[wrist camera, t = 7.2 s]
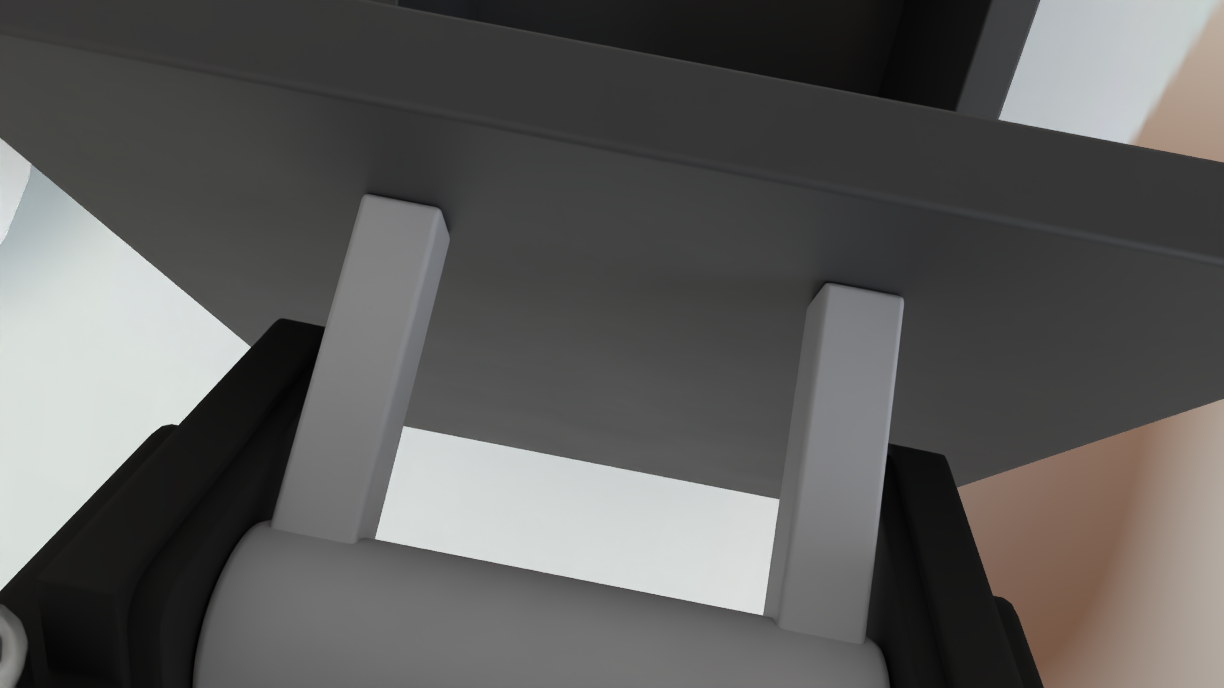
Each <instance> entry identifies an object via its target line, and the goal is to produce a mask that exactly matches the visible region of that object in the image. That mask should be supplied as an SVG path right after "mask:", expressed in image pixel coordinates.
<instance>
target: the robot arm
mask: <svg viewBox="0 0 1224 688" xmlns="http://www.w3.org/2000/svg"><path fill="white" fill-rule="evenodd" d="M325 328H326V327H324V326H319V325H314V324H310V323H305V322H300V321H295V320H290V319H285V318H280V319H278V320H277V321H276V322H274V324H273V325H272V326H271V327H270V328H269V329H268V330H267V331H266V332H265V333H264V334H263V335H262V336H261V337H260V339H259V340H258V341H257V342H256V343H255V344H254V345H253V346H252V347H251V348H250V349H249V350H248V351H247V352H246V354H245V355H244V356H243V357H242V358H241V359H240V360H239V361H238V362H237V363H236V364H235V365H234V366H233V367H232V369H231V370H230V371H229V372H228V373H227V374H226V375H225V376H224V377H223V378H222V379H221V380H220V381H219V382H218V384H217V385H216V386H215V387H214V388H213V389H212V390H211V391H210V392H209V393H208V394H207V395H206V396H205V397H204V399H203V400H202V401H201V402H200V403H199V404H198V405H197V406H196V407H195V408H194V409H193V410H192V411H191V413H190V414H189V415H188V416H187V417H186V418H185V419H184V420H183V421H182V422H181V423H180V424H179V425H173V424H170V425H165V426H162V427H160V428H159V429H158V430H156V431H155V432H154V433H153V434H151V435H150V436H149V437H148V438H147V439H146V440H145V441H144V443H143V444H142V445H141V446H140V447H139V448H138V449H137V450H136V451H135V452H134V453H133V454H132V455H131V456H130V457H129V458H128V459H127V460H126V461H125V462H124V463H123V464H122V465H121V466H120V467H119V468H118V469H117V471H116V472H115V473H114V474H113V475H112V476H111V477H110V478H109V479H108V480H107V481H106V482H105V483H104V484H103V485H102V486H101V487H100V488H99V489H98V490H97V491H96V492H95V493H94V494H93V495H92V496H91V497H90V499H89V500H88V501H87V502H86V503H85V504H84V505H83V506H82V507H81V508H80V509H79V510H78V511H77V512H76V513H75V514H74V515H73V516H72V517H71V518H70V519H69V520H68V521H67V522H66V523H65V524H64V526H63V527H62V528H61V529H60V530H59V531H58V532H57V533H56V534H55V535H54V536H53V537H52V538H51V539H50V540H49V541H48V542H47V543H46V544H45V545H44V546H43V547H42V548H41V549H40V550H39V551H38V552H37V554H36V555H35V556H34V557H33V558H32V559H31V560H30V561H29V562H28V563H27V564H26V565H25V566H24V567H23V568H22V569H21V570H20V571H19V572H18V573H17V574H16V575H15V576H14V577H13V578H12V579H11V580H10V582H9V583H8V584H7V585H6V586H5V587H4V588H3V589H2V590H1V591H0V688H193V671H194V663H195V655H196V649H197V644H198V639H199V635H200V630H201V627H202V623H203V619H204V616H205V613H206V610H207V607H208V604H209V601H210V598H211V595H212V593H213V590H214V588H215V585H216V583H217V581H218V578H219V576H220V574H221V572H222V570H223V568H224V566H225V564H226V562H227V561H228V559H229V557H230V555H231V553H232V552H233V550H234V548H235V547H236V545H237V544H238V542H239V541H240V540H241V538H242V537H243V536H244V535H245V533H246V532H247V531H248V530H249V529H250V528H251V527H253V526H254V525H255V524H257V523H259V522H262V521H267V520H272V517H273V513H274V509H275V506H276V502H277V499H278V495H279V492H280V488H281V484H282V481H283V477H284V474H285V470H286V467H287V463H288V460H289V456H290V452H291V449H292V445H293V442H294V438H295V435H296V431H297V427H298V424H299V420H300V417H301V413H302V410H303V406H304V403H305V399H306V395H307V392H308V388H309V385H310V381H311V378H312V374H313V370H314V367H315V363H316V360H317V356H318V353H319V349H320V346H321V342H322V338H323V335H324V331H325ZM866 637H868V638H869V639H871V640H872V641H874V642H875V643H876V644H877V645H878V646H879V648H880V649H881V651H882V653H883V656H884V659H885V662H886V666H887V670H888V676H889V683H890V688H1044V687H1043V684H1042V682H1041V679H1040V676H1039V673H1038V670H1037V668H1036V665H1035V662H1034V659H1033V656H1032V654H1031V651H1030V648H1029V645H1028V643H1027V640H1026V637H1025V634H1024V631H1023V629H1022V626H1021V623H1020V620H1019V617H1018V615H1017V613H1016V611H1015V610H1014V607H1013V606H1012V604H1011V603H1010V602H1008V601H1007V600H1006V599H1004V598H1002V597H997V596H993V595H992V592H991V588H990V585H989V583H988V579H987V577H986V574H985V571H984V568H983V565H982V562H981V559H980V556H979V553H978V550H977V547H976V544H975V541H974V538H973V535H972V532H971V529H970V526H969V523H968V520H967V517H966V514H965V511H964V508H963V505H962V502H961V499H960V496H959V493H958V490H957V487H956V484H955V481H954V478H953V475H952V472H951V469H950V467H949V464H948V461H947V459H946V457H945V455H942V454H939V453H934V452H929V451H924V450H920V449H915V448H910V447H905V446H900V445H896V444H891V443H888V448H887V457H886V465H885V474H884V483H883V491H882V500H881V509H880V517H879V526H878V535H877V544H876V552H875V561H874V570H873V578H872V587H871V596H870V604H869V613H868V622H867V631H866Z"/></svg>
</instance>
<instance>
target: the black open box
mask: <svg viewBox="0 0 1224 688" xmlns="http://www.w3.org/2000/svg"><path fill="white" fill-rule="evenodd" d="M367 1H373V2H378V3H383V4H389V5H394V6H399V7H404V8H410V9H415V10H420V11H426V12H431V13H436V14H441V15H447V16H452V17H457V18H463V19H468V20H473V21H478V22H484V23H489V24H494V25H500V26H505V27H510V28H515V29H521V30H526V31H531V32H537V33H542V34H547V35H552V36H558V37H563V38H568V39H574V40H579V41H584V42H589V43H595V44H600V45H605V46H611V47H616V48H621V49H626V50H632V51H637V52H642V53H647V54H653V55H658V56H663V57H669V58H674V59H679V60H684V61H690V62H695V63H700V64H706V65H711V66H716V67H721V68H727V69H732V70H737V71H743V72H748V73H753V74H758V75H764V76H769V77H774V78H780V79H785V80H790V81H795V82H801V83H806V84H811V85H817V86H822V87H827V88H832V89H838V90H843V91H848V92H854V93H859V94H864V95H869V96H875V97H880V98H885V99H890V100H896V101H901V102H906V103H912V104H917V105H922V106H927V107H933V108H938V109H943V110H949V111H954V112H959V113H964V114H970V115H975V116H980V117H986V118H991V119H996V120H998V119H999V116H1000V113H1001V110H1002V107H1003V105H1004V102H1005V99H1006V96H1007V93H1008V90H1009V88H1010V85H1011V82H1012V79H1013V76H1014V73H1015V70H1016V68H1017V65H1018V62H1019V59H1020V56H1021V53H1022V51H1023V48H1024V45H1025V42H1026V39H1027V36H1028V34H1029V31H1030V28H1031V25H1032V22H1033V19H1034V16H1035V14H1036V11H1037V8H1038V5H1039V2H1040V0H367Z"/></svg>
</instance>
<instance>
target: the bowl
mask: <svg viewBox="0 0 1224 688" xmlns="http://www.w3.org/2000/svg"><path fill="white" fill-rule="evenodd" d="M30 169H31V163H30V162H28V161H27V160H26V159H25V158H24V157H22V156H21V155H20V154H19V153H18V152H16V151H15V150H14V149H13V148H12V147H10V146H9V145H8V144H7V143H6V142H4V141H3V140H2V139H1V138H0V244H1V242H2V241H3V240H4V238H5V237H6V235H7V232H8V230H9V227H10V225H11V222H12V220H13V217H14V215H15V212H16V210H17V208H18V205H19V203H20V200H21V198H22V195H23V193H24V190H25V188H26V185H27V183H28V180H29V176H30Z"/></svg>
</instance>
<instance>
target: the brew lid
mask: <svg viewBox="0 0 1224 688" xmlns="http://www.w3.org/2000/svg"><path fill="white" fill-rule="evenodd" d="M0 138H1V139H2V140H3V141H4V142H6V143H7V144H8V145H9V146H10V147H12V148H13V149H14V150H15V151H16V152H18V153H19V154H20V155H21V156H22V157H24V158H25V159H26V160H27V161H28V162H30V163H31V164H32V165H33V166H34V167H36V168H37V169H38V170H39V171H40V172H42V173H43V174H44V175H45V176H47V177H48V178H49V179H50V180H51V181H53V182H54V183H55V184H56V185H57V186H59V187H60V188H61V189H62V190H63V191H65V192H66V193H67V194H68V195H69V196H71V197H72V198H73V199H74V200H75V201H77V202H78V203H79V204H80V205H81V206H83V207H84V208H85V209H86V210H87V211H89V212H90V213H91V214H92V215H93V216H95V217H96V218H97V219H98V220H99V221H101V222H102V223H103V224H104V225H105V226H107V227H108V228H109V229H110V230H111V231H113V232H114V233H115V234H116V235H117V236H119V237H120V238H121V239H122V240H123V241H125V242H126V243H127V244H128V245H129V246H131V247H132V248H133V249H134V250H135V251H137V252H138V253H139V254H140V255H141V256H143V257H144V258H145V259H146V260H147V261H149V262H150V263H151V264H152V265H153V266H155V267H156V268H157V269H158V270H159V271H161V272H162V273H163V274H164V275H165V276H167V277H168V278H169V279H170V280H171V281H173V282H174V283H175V284H176V285H177V286H179V287H180V288H181V289H182V290H183V291H185V292H186V293H187V294H188V295H189V296H191V297H192V298H193V299H194V300H195V301H197V302H198V303H199V304H200V305H201V306H203V307H204V308H205V309H206V310H207V311H209V312H210V313H211V314H212V315H213V316H215V317H216V318H217V319H218V320H219V321H221V322H222V323H223V324H224V325H225V326H227V327H228V328H229V329H230V330H231V331H233V332H234V333H235V334H236V335H237V336H239V337H240V338H241V339H242V340H243V341H245V342H246V343H247V344H248V345H249V346H251V347H252V346H253V345H254V344H255V343H256V342H257V341H258V340H259V339H260V337H261V336H262V335H263V334H264V333H265V332H266V331H267V330H268V329H269V328H270V327H271V326H272V325H273V324H274V322H276V321H277V320H278V319H280V318H285V319H290V320H295V321H300V322H305V323H310V324H314V325H319V326H324V327H326V328H325V331H324V335H323V338H322V342H321V346H320V349H319V353H318V356H317V360H316V363H315V367H314V370H313V374H312V378H311V381H310V385H309V388H308V392H307V395H306V399H305V403H304V406H303V410H302V413H301V417H300V420H299V424H298V427H297V431H296V435H295V438H294V442H293V445H292V449H291V452H290V456H289V460H288V463H287V467H286V470H285V474H284V477H283V481H282V484H281V488H280V492H279V495H278V499H277V502H276V506H275V509H274V513H273V517H272V520H267V521H262V522H259V523H257V524H255V525H254V526H253V527H251V528H250V529H249V530H248V531H247V532H246V533H245V535H244V536H243V537H242V538H241V540H240V541H239V542H238V544H237V545H236V547H235V548H234V550H233V552H232V553H231V555H230V557H229V559H228V561H227V562H226V564H225V566H224V568H223V570H222V572H221V574H220V576H219V578H218V581H217V583H216V585H215V588H214V590H213V593H212V595H211V598H210V601H209V604H208V607H207V610H206V613H205V616H204V619H203V623H202V627H201V630H200V635H199V639H198V644H197V649H196V655H195V663H194V671H193V688H890V683H889V676H888V670H887V666H886V662H885V659H884V656H883V653H882V651H881V649H880V648H879V646H878V645H877V644H876V643H875V642H874V641H872V640H871V639H869V638H868V637H866V631H867V622H868V613H869V604H870V596H871V587H872V578H873V570H874V561H875V552H876V544H877V535H878V526H879V517H880V509H881V500H882V491H883V483H884V474H885V465H886V457H887V448H888V443H891V444H896V445H900V446H905V447H910V448H915V449H920V450H924V451H929V452H934V453H939V454H942V455H945V457H946V459H947V461H948V464H949V467H950V469H951V472H952V475H953V478H954V481H955V484H956V487H960V486H963V485H966V484H969V483H972V482H975V481H978V480H981V479H984V478H987V477H990V476H993V475H996V474H998V473H1002V472H1005V471H1008V470H1011V469H1014V468H1017V467H1020V466H1023V465H1026V464H1029V463H1032V462H1035V461H1038V460H1041V459H1044V458H1047V457H1050V456H1053V455H1056V454H1059V453H1062V452H1065V451H1068V450H1071V449H1074V448H1077V447H1080V446H1083V445H1086V444H1089V443H1092V442H1095V441H1098V440H1101V439H1104V438H1107V437H1110V436H1113V435H1116V434H1119V433H1122V432H1125V431H1128V430H1131V429H1134V428H1137V427H1140V426H1143V425H1146V424H1149V423H1152V422H1155V421H1158V420H1161V419H1164V418H1167V417H1170V416H1173V415H1176V414H1179V413H1182V412H1185V411H1188V410H1191V409H1194V408H1197V407H1200V406H1203V405H1206V404H1209V403H1212V402H1215V401H1218V400H1221V399H1224V163H1223V162H1217V161H1213V160H1207V159H1201V158H1196V157H1192V156H1186V155H1181V154H1176V153H1170V152H1165V151H1160V150H1154V149H1149V148H1144V147H1138V146H1133V145H1128V144H1123V143H1118V142H1112V141H1107V140H1102V139H1097V138H1091V137H1086V136H1081V135H1075V134H1070V133H1065V132H1060V131H1054V130H1049V129H1044V128H1038V127H1033V126H1028V125H1023V124H1017V123H1012V122H1007V121H1001V120H996V119H991V118H986V117H980V116H975V115H970V114H964V113H959V112H954V111H949V110H943V109H938V108H933V107H927V106H922V105H917V104H912V103H906V102H901V101H896V100H890V99H885V98H880V97H875V96H869V95H864V94H859V93H854V92H848V91H843V90H838V89H832V88H827V87H822V86H817V85H811V84H806V83H801V82H795V81H790V80H785V79H780V78H774V77H769V76H764V75H758V74H753V73H748V72H743V71H737V70H732V69H727V68H721V67H716V66H711V65H706V64H700V63H695V62H690V61H684V60H679V59H674V58H669V57H663V56H658V55H653V54H647V53H642V52H637V51H632V50H626V49H621V48H616V47H611V46H605V45H600V44H595V43H589V42H584V41H579V40H574V39H568V38H563V37H558V36H552V35H547V34H542V33H537V32H531V31H526V30H521V29H515V28H510V27H505V26H500V25H494V24H489V23H484V22H478V21H473V20H468V19H463V18H457V17H452V16H447V15H441V14H436V13H431V12H426V11H420V10H415V9H410V8H404V7H399V6H394V5H389V4H383V3H378V2H373V1H367V0H0ZM403 426H407V427H412V428H417V429H422V430H427V431H432V432H437V433H442V434H448V435H453V436H458V437H463V438H468V439H473V440H478V441H483V442H489V443H494V444H499V445H504V446H509V447H514V448H519V449H524V450H530V451H535V452H540V453H545V454H550V455H555V456H560V457H565V458H571V459H576V460H581V461H586V462H591V463H596V464H601V465H606V466H612V467H617V468H622V469H627V470H632V471H637V472H642V473H647V474H653V475H658V476H663V477H668V478H673V479H678V480H683V481H688V482H694V483H699V484H704V485H709V486H714V487H719V488H724V489H729V490H735V491H740V492H745V493H750V494H755V495H760V496H765V497H770V498H776V499H780V502H779V509H778V516H777V523H776V530H775V537H774V544H773V551H772V558H771V565H770V572H769V579H768V586H767V593H766V600H765V607H764V614H763V616H762V615H757V614H752V613H747V612H742V611H737V610H731V609H726V608H721V607H716V606H711V605H706V604H701V603H696V602H691V601H686V600H681V599H676V598H670V597H665V596H660V595H655V594H650V593H645V592H640V591H635V590H630V589H625V588H620V587H615V586H609V585H604V584H599V583H594V582H589V581H584V580H579V579H574V578H569V577H564V576H559V575H554V574H548V573H543V572H538V571H533V570H528V569H523V568H518V567H513V566H508V565H503V564H498V563H493V562H488V561H482V560H477V559H472V558H467V557H462V556H457V555H452V554H447V553H442V552H437V551H432V550H427V549H421V548H416V547H411V546H406V545H401V544H396V543H391V542H386V541H381V540H376V539H375V536H376V532H377V528H378V524H379V520H380V516H381V512H382V508H383V504H384V500H385V496H386V492H387V488H388V484H389V480H390V477H391V473H392V469H393V465H394V461H395V457H396V453H397V449H398V445H399V441H400V437H401V433H402V429H403Z"/></svg>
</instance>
